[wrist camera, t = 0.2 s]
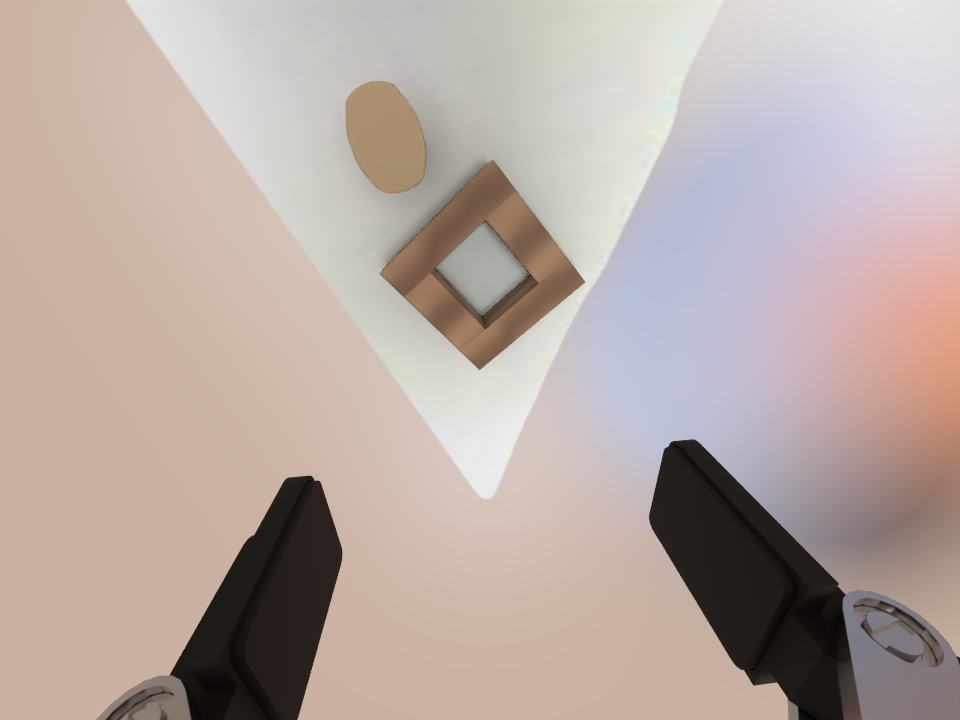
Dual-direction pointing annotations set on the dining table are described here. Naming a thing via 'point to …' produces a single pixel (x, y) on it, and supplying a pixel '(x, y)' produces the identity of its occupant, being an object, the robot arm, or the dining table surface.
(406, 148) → the handle
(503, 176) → the socket block
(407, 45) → the dining table surface
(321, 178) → the dining table surface
